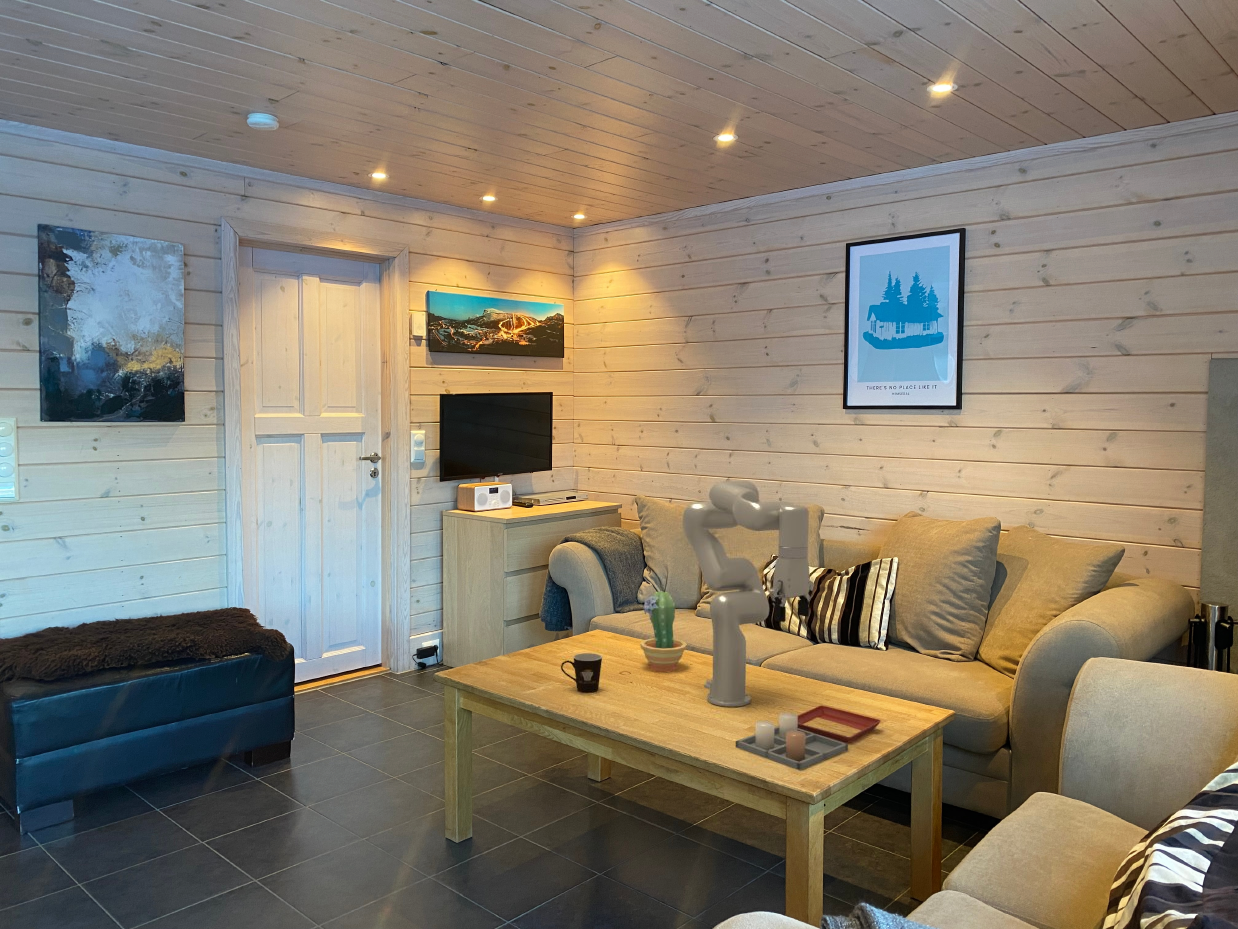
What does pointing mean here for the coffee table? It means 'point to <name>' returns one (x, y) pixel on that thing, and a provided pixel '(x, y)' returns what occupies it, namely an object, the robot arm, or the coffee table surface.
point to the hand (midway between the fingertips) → (791, 618)
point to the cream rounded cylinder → (787, 724)
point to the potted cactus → (662, 634)
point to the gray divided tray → (814, 749)
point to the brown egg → (795, 745)
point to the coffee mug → (586, 671)
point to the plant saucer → (838, 717)
